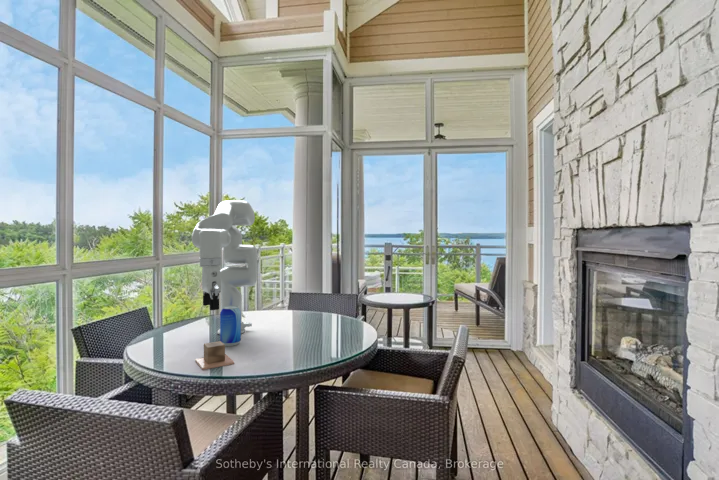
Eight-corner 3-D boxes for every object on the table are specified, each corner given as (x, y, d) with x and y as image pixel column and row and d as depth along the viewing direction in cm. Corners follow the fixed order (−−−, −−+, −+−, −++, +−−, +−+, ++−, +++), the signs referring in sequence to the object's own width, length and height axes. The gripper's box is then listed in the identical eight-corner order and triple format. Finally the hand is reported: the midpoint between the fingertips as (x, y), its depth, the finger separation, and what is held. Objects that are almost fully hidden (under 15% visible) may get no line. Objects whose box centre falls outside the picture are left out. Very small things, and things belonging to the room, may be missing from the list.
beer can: (244, 342, 167) (244, 305, 167) (232, 347, 159) (232, 309, 159) (228, 340, 170) (228, 304, 170) (215, 345, 162) (215, 308, 162)
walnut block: (220, 356, 145) (220, 341, 145) (224, 361, 140) (224, 344, 140) (203, 359, 141) (203, 343, 141) (207, 364, 136) (207, 347, 136)
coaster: (225, 355, 148) (225, 353, 148) (234, 363, 139) (234, 361, 139) (195, 361, 142) (195, 359, 142) (202, 369, 133) (202, 367, 133)
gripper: (227, 263, 138) (227, 310, 139) (214, 260, 152) (214, 302, 153) (206, 265, 134) (206, 313, 135) (194, 260, 148) (194, 304, 149)
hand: (210, 307), depth 144 cm, fingers open, 9 cm apart
